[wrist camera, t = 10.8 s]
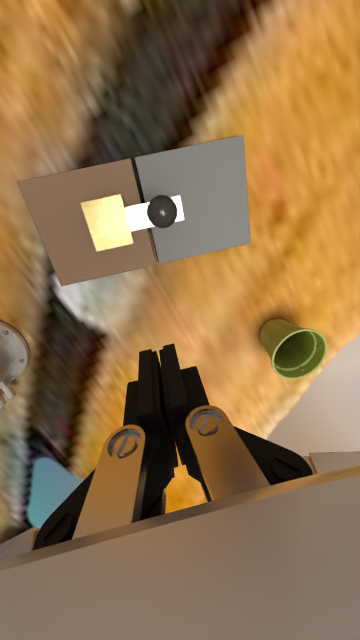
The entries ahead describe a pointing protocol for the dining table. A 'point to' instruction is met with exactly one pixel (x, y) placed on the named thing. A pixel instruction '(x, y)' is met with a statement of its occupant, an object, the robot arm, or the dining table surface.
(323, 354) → the plant pot
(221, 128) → the dining table surface
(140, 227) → the bolt
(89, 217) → the block
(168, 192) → the lock base
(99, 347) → the dining table surface
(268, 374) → the dining table surface
